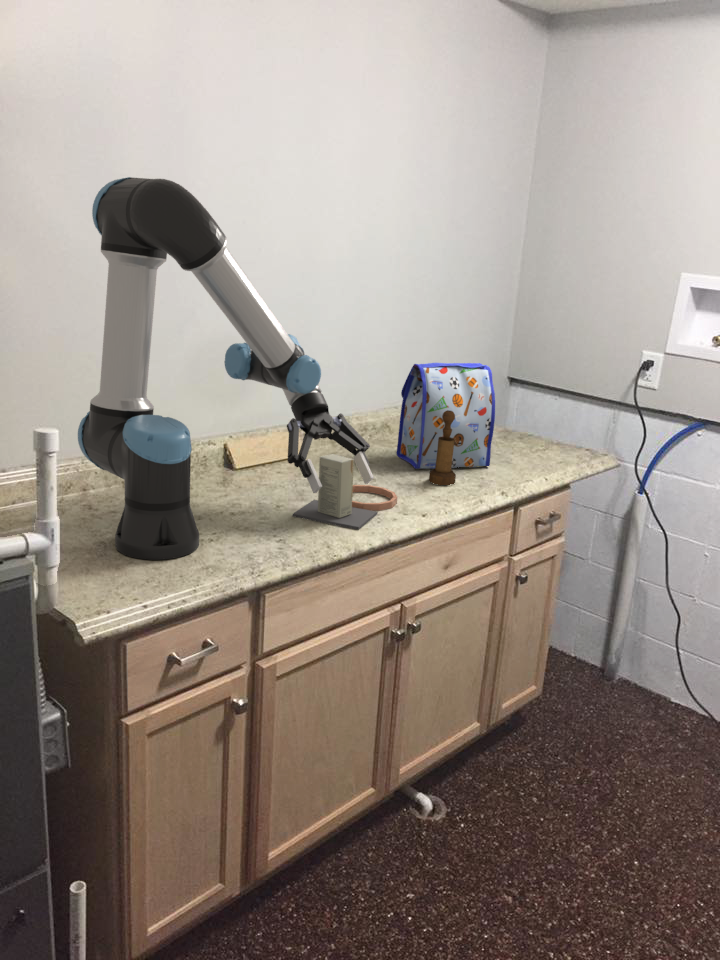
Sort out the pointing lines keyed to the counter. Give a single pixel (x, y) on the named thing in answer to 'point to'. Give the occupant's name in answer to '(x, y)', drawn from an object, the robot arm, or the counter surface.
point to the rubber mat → (350, 521)
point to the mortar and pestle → (444, 454)
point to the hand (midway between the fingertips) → (344, 485)
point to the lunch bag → (437, 393)
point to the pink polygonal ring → (375, 490)
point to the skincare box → (335, 485)
